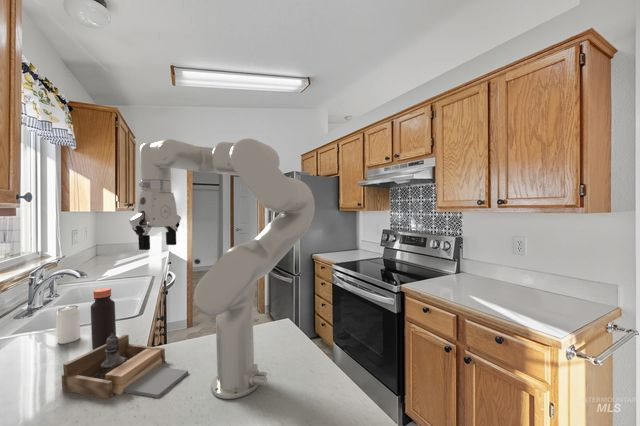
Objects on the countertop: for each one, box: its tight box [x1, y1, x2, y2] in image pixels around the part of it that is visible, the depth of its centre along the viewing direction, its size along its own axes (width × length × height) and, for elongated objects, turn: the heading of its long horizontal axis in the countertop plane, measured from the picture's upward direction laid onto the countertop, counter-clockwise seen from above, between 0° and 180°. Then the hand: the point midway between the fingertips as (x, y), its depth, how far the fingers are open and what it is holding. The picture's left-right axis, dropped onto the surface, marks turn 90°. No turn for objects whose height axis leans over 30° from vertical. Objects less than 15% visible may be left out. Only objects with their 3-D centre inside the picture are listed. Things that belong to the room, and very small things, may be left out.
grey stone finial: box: [101, 333, 126, 380], centre depth 85 cm, size 6×6×12 cm
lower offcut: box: [112, 358, 163, 395], centre depth 83 cm, size 5×14×2 cm, turn 165°
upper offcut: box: [104, 349, 161, 386], centre depth 83 cm, size 5×14×2 cm, turn 169°
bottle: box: [90, 287, 117, 350], centre depth 102 cm, size 7×7×20 cm
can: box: [55, 305, 81, 345], centre depth 107 cm, size 6×6×12 cm
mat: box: [123, 366, 189, 399], centre depth 80 cm, size 11×11×1 cm
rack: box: [61, 334, 166, 400], centre depth 85 cm, size 16×18×7 cm
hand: (158, 247), depth 84 cm, fingers open, 9 cm apart
